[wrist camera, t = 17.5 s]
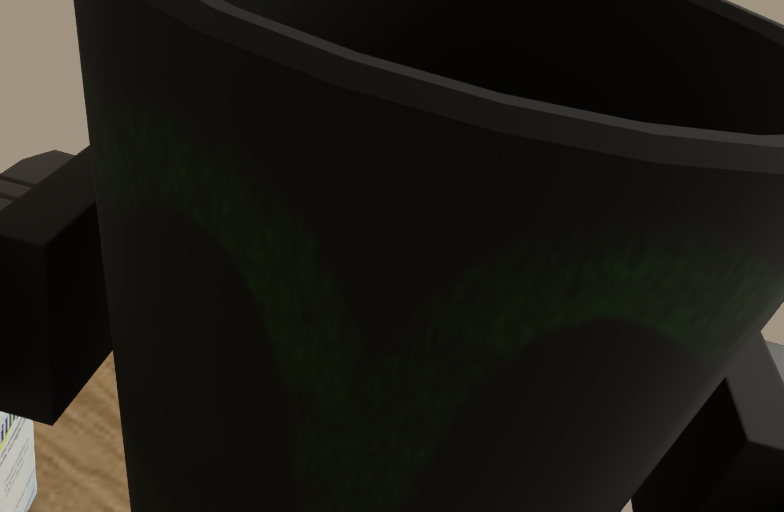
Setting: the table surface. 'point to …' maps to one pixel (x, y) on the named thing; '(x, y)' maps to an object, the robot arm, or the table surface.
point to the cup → (427, 243)
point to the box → (16, 463)
